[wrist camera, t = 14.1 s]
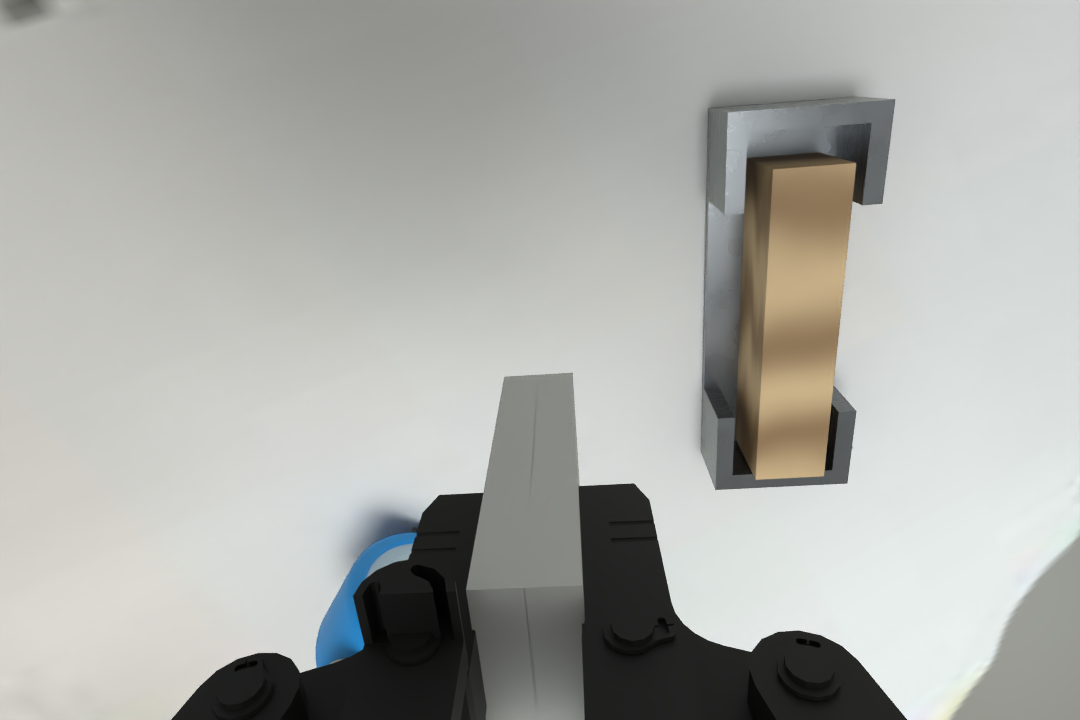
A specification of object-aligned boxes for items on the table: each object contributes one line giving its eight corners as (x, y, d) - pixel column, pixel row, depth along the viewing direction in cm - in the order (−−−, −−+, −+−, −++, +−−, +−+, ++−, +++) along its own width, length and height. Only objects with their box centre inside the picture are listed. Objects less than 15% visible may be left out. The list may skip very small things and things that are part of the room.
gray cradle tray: (708, 108, 37) (728, 112, 32) (856, 96, 36) (895, 99, 32) (700, 451, 45) (715, 489, 41) (820, 444, 45) (847, 483, 41)
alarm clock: (539, 573, 50) (532, 763, 36) (501, 627, 52) (481, 826, 38) (380, 501, 48) (307, 674, 34) (347, 560, 50) (267, 746, 36)
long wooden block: (746, 157, 37) (773, 169, 32) (819, 152, 37) (856, 162, 32) (735, 437, 44) (755, 479, 40) (796, 434, 44) (823, 476, 39)
